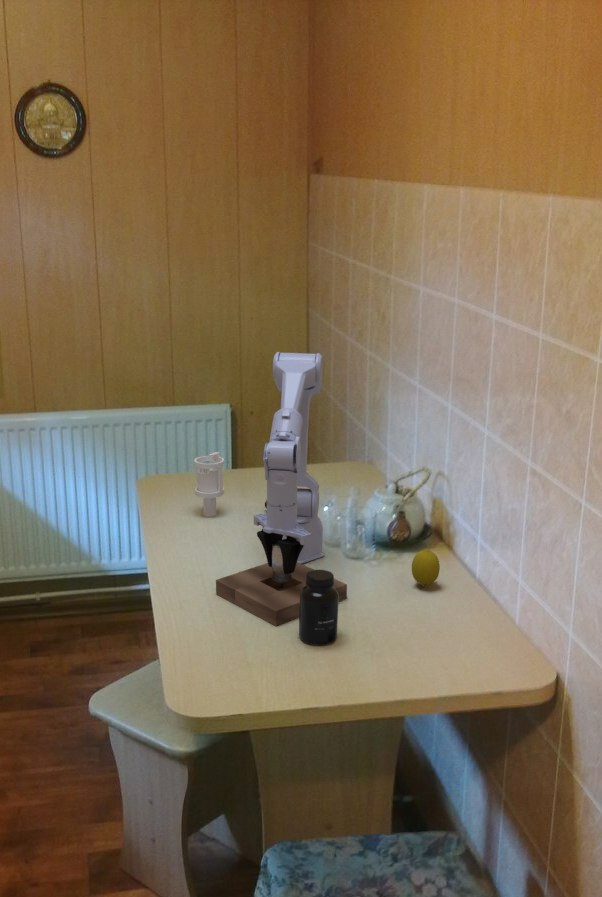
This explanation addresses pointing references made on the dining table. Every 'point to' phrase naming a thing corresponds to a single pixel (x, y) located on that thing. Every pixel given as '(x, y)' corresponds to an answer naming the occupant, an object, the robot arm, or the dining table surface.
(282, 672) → the dining table surface
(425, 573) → the lemon
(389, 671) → the dining table surface
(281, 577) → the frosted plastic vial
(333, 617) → the supplement bottle
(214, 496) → the strainer
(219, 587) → the dock block
